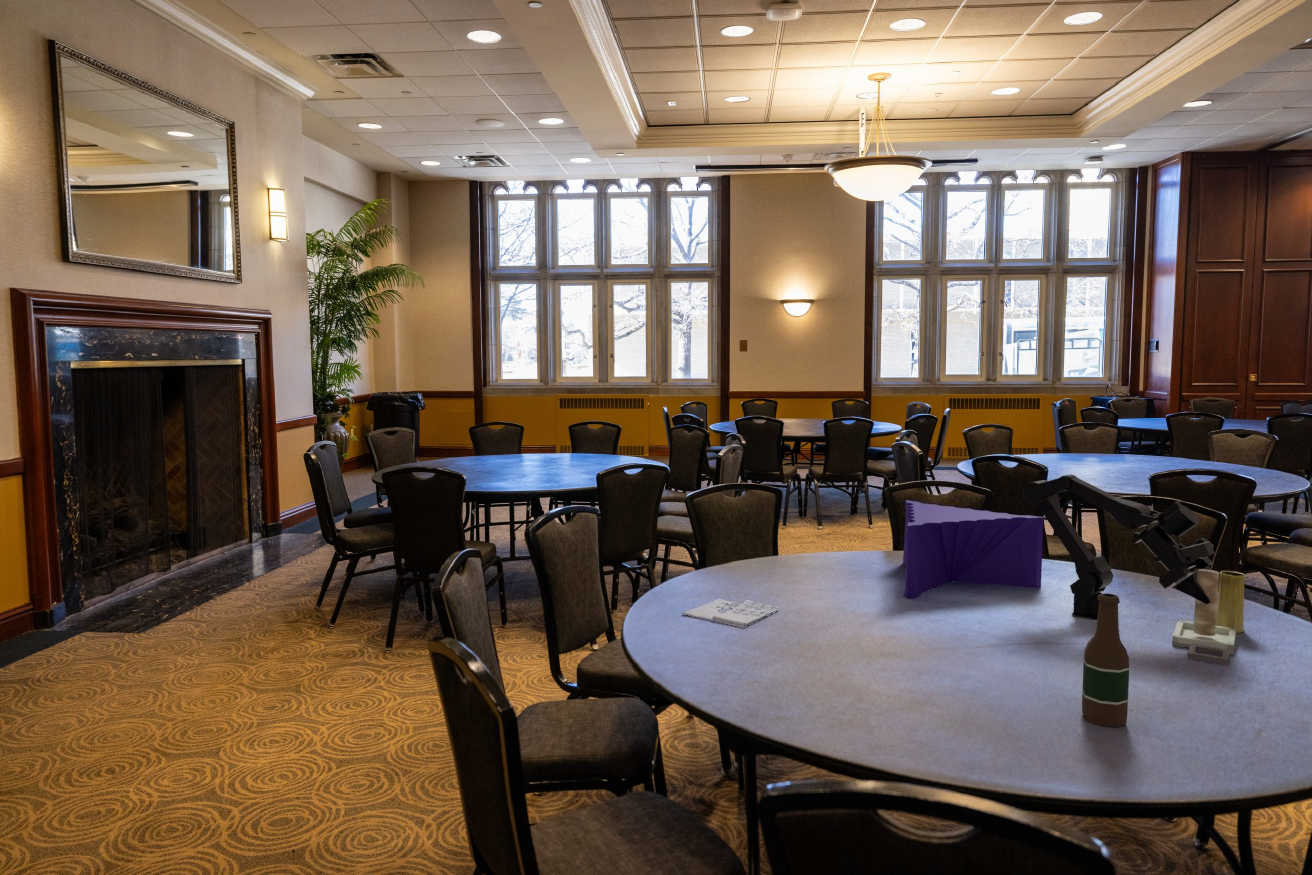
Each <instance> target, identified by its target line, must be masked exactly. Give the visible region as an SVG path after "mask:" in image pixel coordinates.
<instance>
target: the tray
mask: <svg viewBox="0 0 1312 875" xmlns="http://www.w3.org/2000/svg"><path fill="white" fill-rule="evenodd" d="M1236 635H1237V633H1236V629H1235V628H1229V627H1222V626H1216V631H1215V635H1214V636H1204V635H1199V634H1196V633H1194V621H1193V622H1192V621H1187V620H1181V619H1178V620H1177V622H1176V625H1175V628H1174V630H1173V633H1172V639H1171V640H1172V641H1171V645H1172V646H1176V647H1181V648H1186V649H1187V648H1188V649H1189V647H1190V644H1194V645H1201V646H1207V647H1213V648H1219V649H1226V650H1230V652H1229V656H1231V655H1232V656H1233V655H1234V651H1235V644H1236Z"/></svg>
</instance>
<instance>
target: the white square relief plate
mask: <svg viewBox="0 0 1312 875" xmlns="http://www.w3.org/2000/svg"><path fill="white" fill-rule="evenodd" d="M780 608H781V607H779V606H777V605H776V606H775V605H770V604H766V603H763V602H757V601H754V600H749V599H746V600H745V601H743V603H739V602H734V601H729V600H725V599H722V598H716V599H715V600H712V601H710V602H707V603H704V604H702V605H700V606H697V607H695V608H693V609H690V610H687V611H686V610H685V611H683V612H682V615H683V614H684V615H688V616H691V617H690V618H694V617H696V618H695V619H699V618H701V619H700V620H703V619H705V621H708V620H710V621H709V622H712V621H715V622H714V623H717V622H720V623H719V624H721V623H724V624H723V625H726V624H728V625H727V626H730V625H733V626H732V627H734V626H738V627H737V628H739V627H743V628H742V629H745V628H744V627H746V626H748V625H750V626H752V625H754V624H755V623H754V622H756V623H758V622H760V621H762V620H764V619H765V618H764V617H766V616H767V615H769V614H772V613H773V612H775V611H779V610H780ZM723 609H724V610H725V609H726V610H729V609H731V610H729V611H727V612H724V613H722V614H721V612H722V611H721V610H723ZM772 615H773V614H772ZM688 616H687V617H688ZM763 618H764V619H763ZM766 618H767V617H766ZM761 619H762V620H761ZM759 620H760V621H759ZM757 621H758V622H757ZM753 623H754V624H753ZM751 624H752V625H751ZM748 627H749V626H748ZM746 628H747V627H746Z"/></svg>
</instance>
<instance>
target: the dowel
mask: <svg viewBox="0 0 1312 875" xmlns="http://www.w3.org/2000/svg"><path fill="white" fill-rule="evenodd" d="M1219 577H1220V572H1219V571H1216V570H1212V569H1209V570H1205V569H1200V570H1197V582H1198V584H1199V585H1200V586H1201V588H1202V589H1203V591H1204V592H1205V593H1206V595H1207V596H1208V598H1209V599H1210V601H1211V602H1210V603H1209V604H1205V603H1203V602H1201V601H1199V600H1197V599H1195V598H1194V599H1195V600H1194V615H1193V616H1194V617H1193V622H1194V633H1196V634H1199V635H1204V636H1214V635H1215V631H1216V613H1217V600H1218V599H1217V597H1218V589H1219Z"/></svg>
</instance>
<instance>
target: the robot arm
mask: <svg viewBox="0 0 1312 875" xmlns="http://www.w3.org/2000/svg"><path fill="white" fill-rule="evenodd" d="M1063 492H1068V493H1070V494H1072V495H1073V496H1075V497H1077V498H1079V499H1082V500H1083V501H1084V502H1085V501H1086V502H1087V503H1090V504H1091V505H1093V506H1095V507H1096V508H1099V509H1101V510H1102V511H1104V512H1106V513H1108V514H1109V515H1110V516H1111V517H1112V519H1113V520H1114V521H1116V522H1117V523H1119V524H1120V525H1121V526H1123V527H1124V528H1125V529H1128V530H1137V529H1139V528H1142V527H1144V528H1143V529H1142V530H1140V532H1139V531H1135V532H1132V540H1131V544H1133V545H1135V544H1138V543H1140V542H1142V544H1144V545H1145V547H1147V549H1148V550H1149V551H1150V552H1151V553H1152V554H1153V555H1154V556H1155V557H1154V561H1155V562H1156V563H1161V564H1162V565H1163V567H1164V568H1165V569H1166V570H1167V571H1166V572H1165V573H1164V574H1162V575H1161V576H1159V577H1158V578H1159V579H1158V583H1159V584H1160V585H1161V586H1162V587H1163V589H1165V590H1166V589H1168V588H1170V587H1171V586H1172V585H1173V584H1174V583H1175V585H1173V586H1172V589H1173V590H1177V591H1178V592H1182V593H1183V594H1185V595H1187V596H1189V597H1192V598H1194V599H1197V600H1199V601H1201V602H1203V603H1205V604H1209V603H1210V602H1211V601H1210V599H1209V598H1208V596H1207V595H1206V593H1205V592H1204V591H1203V589H1202V588H1201V586H1200V585H1199V584H1198V582H1197V570H1200V569H1205V570H1210V566H1211V565H1213V564H1214V562H1213V561H1212V560H1211V558H1209V557H1210V556H1211V555H1215V554H1216V553H1215V551H1214V547H1215V545H1214V543H1212V542H1211V541H1210V540H1207V539H1206V538H1204V537H1202V538H1198V539H1196V540H1195V541H1194V542H1195V544H1193V545H1190V546H1185V544H1183V543H1181V542H1180V543H1177V541H1175V540H1174V539H1173V538H1172V537H1174V536H1175V537H1177V538H1178V537H1179V538H1180V537H1181V536H1184V534H1186V533H1187V532H1189V531H1190V530H1191V529H1193V528H1194V527H1195V526H1197V525H1198V524H1199V523H1200V519H1199V517H1198V516H1197V514H1196V513H1195V512H1194V510H1192V509H1190V508H1188V507H1187V506H1185V505H1183V504H1182V503H1180V501H1175V502H1173V503H1172V504H1171V505H1170V506H1169V507H1168V508H1166V510H1163V512H1159V511H1156V510H1152V509H1150V507H1149V506H1147V505H1145V504H1143V503H1139V502H1138V501H1132V500H1128V499H1124V498H1120V497H1117V496H1115V495H1113V494H1111V493H1109V492H1107V491H1105V490H1103V489H1101V488H1099V487H1098V486H1095V485H1092V484H1091V483H1089V482H1087V481H1085V480H1083V479H1080V478H1079V477H1078V476H1076V475H1075V474H1065V475H1061V476H1059V477H1057V478H1054V479H1051V480H1046V479H1045V480H1038V481H1037V480H1035V481H1033V482H1032V481H1031V482H1028V483H1027V484H1026V485H1025V486H1024V488H1023V492H1022V493H1023V494H1022V495H1023V497H1024V499H1025V500H1026V502H1028V503H1029V504H1030V506H1032V508H1034V509H1035V510H1036V511H1038V513H1041V514H1042V515H1043V517H1045V519H1046V520H1047V522H1048V524H1049V525H1050V527H1051V528H1052V530H1053V531H1054V533H1055V534H1056V536H1057V537H1058V539H1059V540H1060V542H1061V543H1062V544H1063V546H1064V548H1065V550H1066V551H1067V552H1068V554H1069V555H1070V557H1071V559H1072V560H1073V562H1074V567H1075V574H1076V575H1077V578H1078V579H1076V581H1074V582H1073V583H1071V584H1070V585H1069V587H1070V591H1071V593H1072V594H1073V610H1072V613H1071V616H1073V617H1077V618H1085V619H1089V620H1097V617H1098V608H1099V600H1098V596H1099V594H1103V593H1104V592H1105V590H1106V587H1108V586H1110V585H1111V583H1112V582H1113V578H1114V573H1113V571H1112V570H1113V567H1112V566H1110V565H1109V563H1108V561H1107V559H1106V557H1105V556H1104V555H1101V556H1096V555H1095V554H1093V553H1092V551H1091V550H1089V547H1088V546H1087V544H1086V543H1085V542H1084V540H1083V538H1082V537H1081V535H1080V534H1079V533H1078V531H1077V530H1076V528H1075V527H1074V525H1073V523H1072V522H1071V520H1070V519H1069V517H1068V516H1067V515H1066V512H1064V511H1063V509H1062V507H1061V504H1060V498H1059V494H1060V493H1063ZM1154 523H1157V524H1155V525H1154V526H1150V525H1152V524H1154ZM1102 592H1103V593H1102ZM1217 600H1218V596H1217Z"/></svg>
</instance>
